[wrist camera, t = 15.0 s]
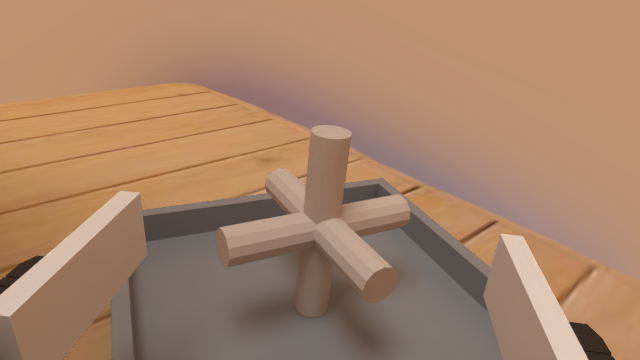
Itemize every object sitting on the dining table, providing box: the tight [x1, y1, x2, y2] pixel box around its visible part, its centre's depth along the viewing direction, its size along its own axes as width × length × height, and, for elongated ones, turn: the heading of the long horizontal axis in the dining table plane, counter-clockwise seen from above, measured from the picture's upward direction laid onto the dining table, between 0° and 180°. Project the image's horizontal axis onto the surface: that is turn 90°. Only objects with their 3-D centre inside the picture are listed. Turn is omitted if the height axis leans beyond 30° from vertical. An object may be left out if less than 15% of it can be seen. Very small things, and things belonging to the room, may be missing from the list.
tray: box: [111, 178, 503, 360], centre depth 24 cm, size 20×20×2 cm
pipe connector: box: [216, 125, 410, 317], centre depth 22 cm, size 10×10×10 cm
